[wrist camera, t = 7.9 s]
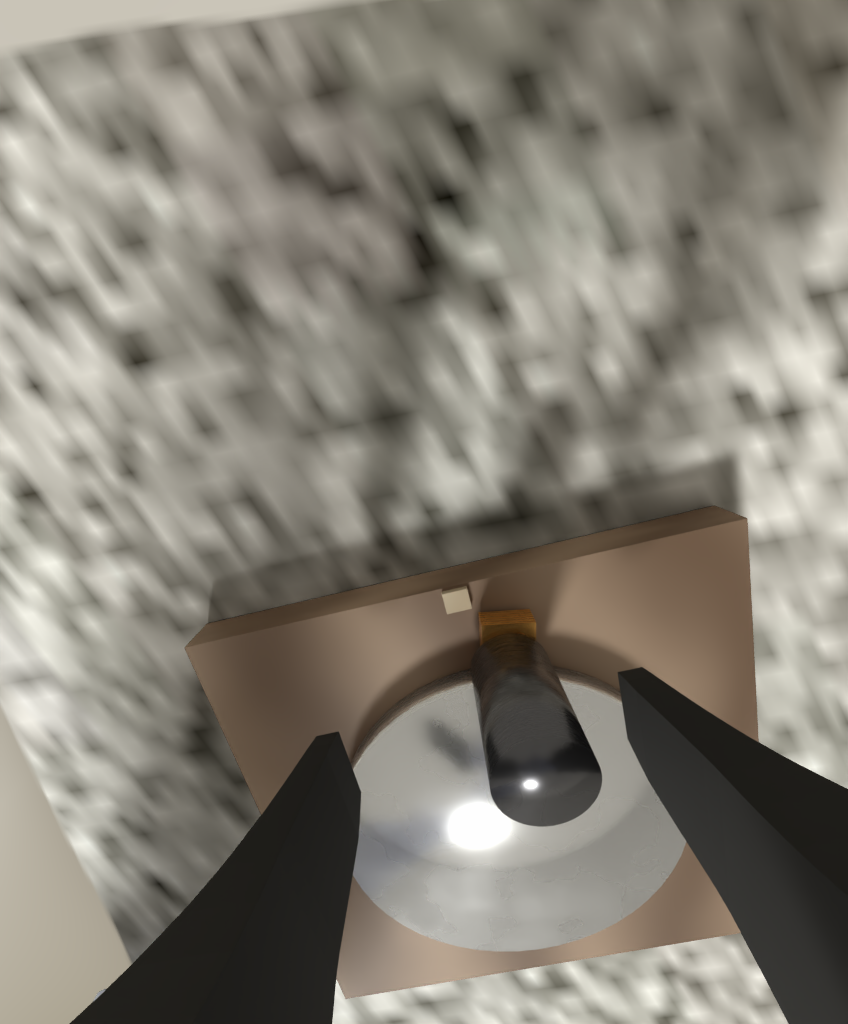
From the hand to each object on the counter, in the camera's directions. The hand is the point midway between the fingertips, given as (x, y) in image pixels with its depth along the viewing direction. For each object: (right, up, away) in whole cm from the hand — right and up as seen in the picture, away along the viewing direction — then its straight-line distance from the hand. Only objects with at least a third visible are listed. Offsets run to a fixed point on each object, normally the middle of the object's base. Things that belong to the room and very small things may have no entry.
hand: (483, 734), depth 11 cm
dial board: (+2, -5, +6) cm, 8 cm away
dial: (+2, -5, +5) cm, 7 cm away
